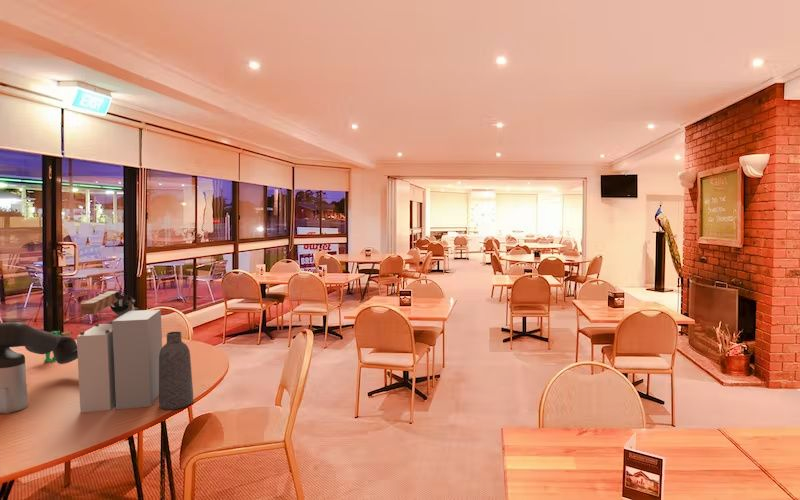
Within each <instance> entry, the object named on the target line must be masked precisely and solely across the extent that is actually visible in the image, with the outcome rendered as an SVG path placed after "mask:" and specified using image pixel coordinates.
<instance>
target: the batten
mask: <svg viewBox="0 0 800 500" xmlns="http://www.w3.org/2000/svg"><path fill="white" fill-rule="evenodd" d="M116 292H118V293H120V291H119V290H108V291H106V293H104V294H102V293H101V294H99V295H97V296H95V297H93V298H91V299H89V300H86V301H84V302H82V303H80V315H95V314H96V313H99V312H100V311H102V310H104V309H106V308H108V307H110V305H112V304H113V303H115V302H117V301H119V300H118V299H117V298H116V297H115V293H116Z"/></svg>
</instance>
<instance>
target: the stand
mask: <svg viewBox="0 0 800 500" xmlns="http://www.w3.org/2000/svg"><path fill="white" fill-rule="evenodd" d="M117 317H118V316H117ZM117 317H116V318H117ZM116 318H114V319H113V320H111V321H112V324H107V323H102V324H101V323H98V322H95V323H94V326H92V327H91V328H88V329H87V330H81V331H80V334H78V335H76V344H77V353H78V358H77V370H78V387H79V388H78V391H79V407H80V409H79V410H80V411H79V412H80V413H92V412H93V413H94V412H103V411H111V409H113V408H114V407H115V409H116V410H126V409H136V408H137V409H139V408H146V407H147V408H148V407H152V405H153V404H154V402H155V401H156V400H157V398H159V354H160V350H161V349H162V347H163V336H162V334H163V332H162V309H143V310H140V309H139V311H128V312H127V313H125V314H123V315H122V316H120V317H118V318H117V319H116Z"/></svg>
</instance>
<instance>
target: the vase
mask: <svg viewBox="0 0 800 500" xmlns="http://www.w3.org/2000/svg"><path fill="white" fill-rule="evenodd" d="M182 340H183V339H182V332H181V331H169V332H167V333H166V343H165V344H164V345H162V349H161V350H160V354H159V396H158V406H159V407H160V409H161V410H162V409H163V410H168V411H169V410H170V411H171V410H172V411H173V410H178V409H182V408H186V407H188V406H190V405H192V404H193V402H194V389H193V386H194V385H193V375H192V374H193V373H192V361H191V353H190V351H191V350H190V348H189V346H188V345H187V344H186V343H185V342H184V341H182Z"/></svg>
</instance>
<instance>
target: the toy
mask: <svg viewBox="0 0 800 500" xmlns="http://www.w3.org/2000/svg"><path fill="white" fill-rule="evenodd" d="M48 332H49V331H48ZM49 333H51V334H54V335H58V336H66V337H70V336H71V335H72V334H73V331H70V330H68V331H64V332H61V331H60V330H53V331H50V332H49ZM51 352H52V356H53V357H50V356H51ZM51 352H50V353H47V354H45V359H44V360H43V362H46V363H53V362H56V359H55V356H54V353H53V351H51Z"/></svg>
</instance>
